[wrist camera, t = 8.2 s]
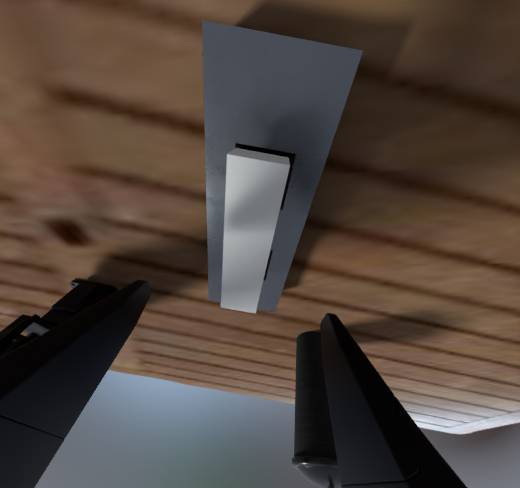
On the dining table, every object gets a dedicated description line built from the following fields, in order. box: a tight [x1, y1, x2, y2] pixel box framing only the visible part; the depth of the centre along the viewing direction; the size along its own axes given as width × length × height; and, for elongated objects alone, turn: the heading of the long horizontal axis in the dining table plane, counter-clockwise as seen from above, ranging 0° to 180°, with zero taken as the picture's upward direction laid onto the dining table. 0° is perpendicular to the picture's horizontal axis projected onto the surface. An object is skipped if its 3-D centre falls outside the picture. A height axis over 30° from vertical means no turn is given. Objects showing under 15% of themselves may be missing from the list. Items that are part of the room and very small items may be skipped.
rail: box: [202, 20, 363, 312], centre depth 17 cm, size 22×8×3 cm, turn 171°
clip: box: [221, 148, 290, 313], centre depth 15 cm, size 12×3×7 cm, turn 171°
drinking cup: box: [292, 332, 341, 488], centre depth 22 cm, size 8×8×20 cm
